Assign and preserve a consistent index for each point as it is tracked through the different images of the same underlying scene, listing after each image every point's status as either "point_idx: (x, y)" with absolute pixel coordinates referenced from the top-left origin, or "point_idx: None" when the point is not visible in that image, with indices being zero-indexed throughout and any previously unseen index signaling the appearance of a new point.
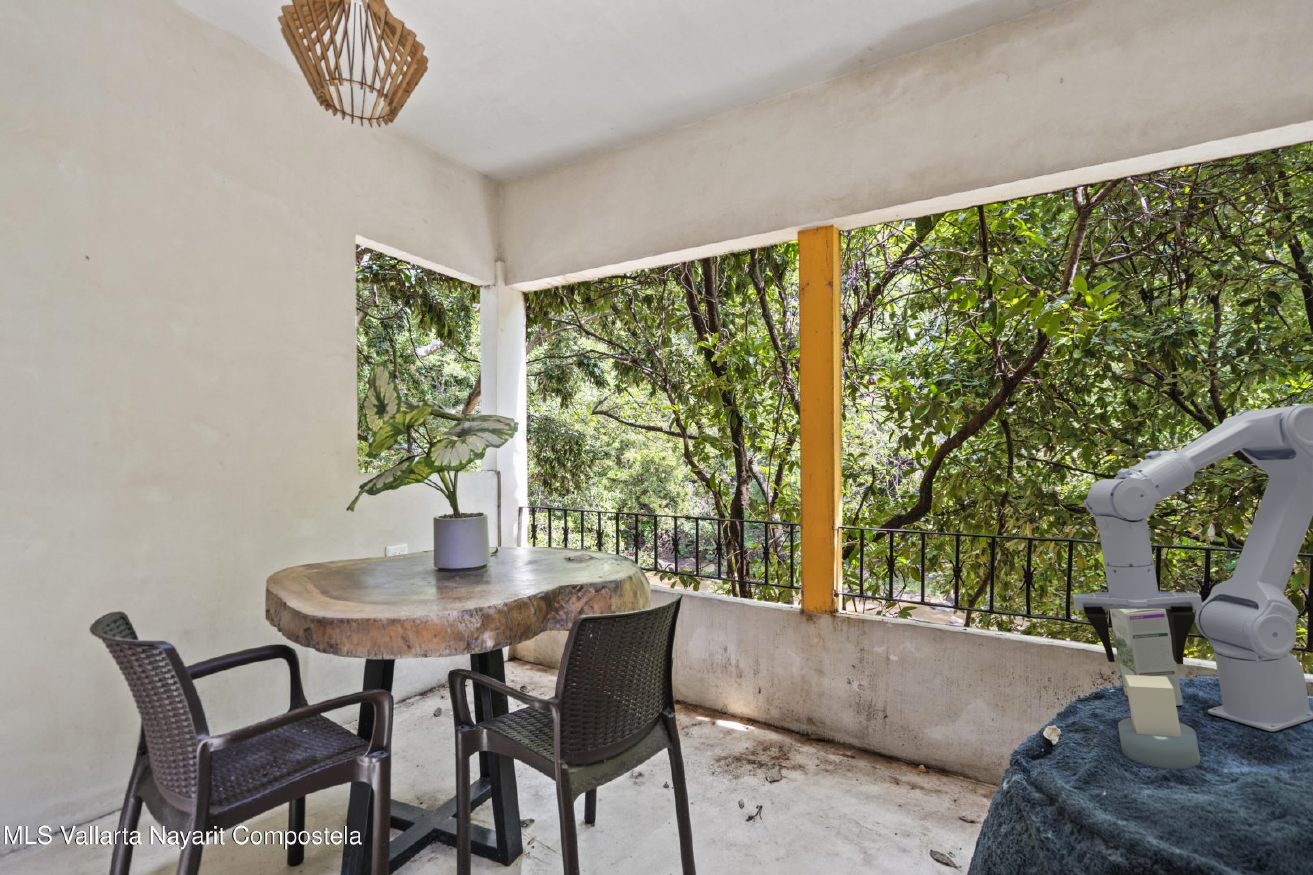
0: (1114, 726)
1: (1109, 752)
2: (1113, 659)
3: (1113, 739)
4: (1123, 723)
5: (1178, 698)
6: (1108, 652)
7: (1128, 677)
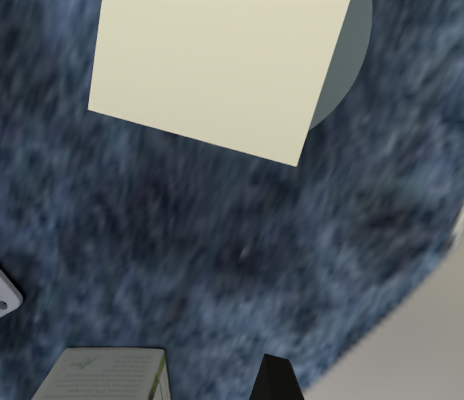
0: (286, 238)
1: (392, 44)
2: (270, 362)
3: (332, 146)
4: (333, 83)
5: (64, 362)
6: (294, 395)
7: (297, 116)
